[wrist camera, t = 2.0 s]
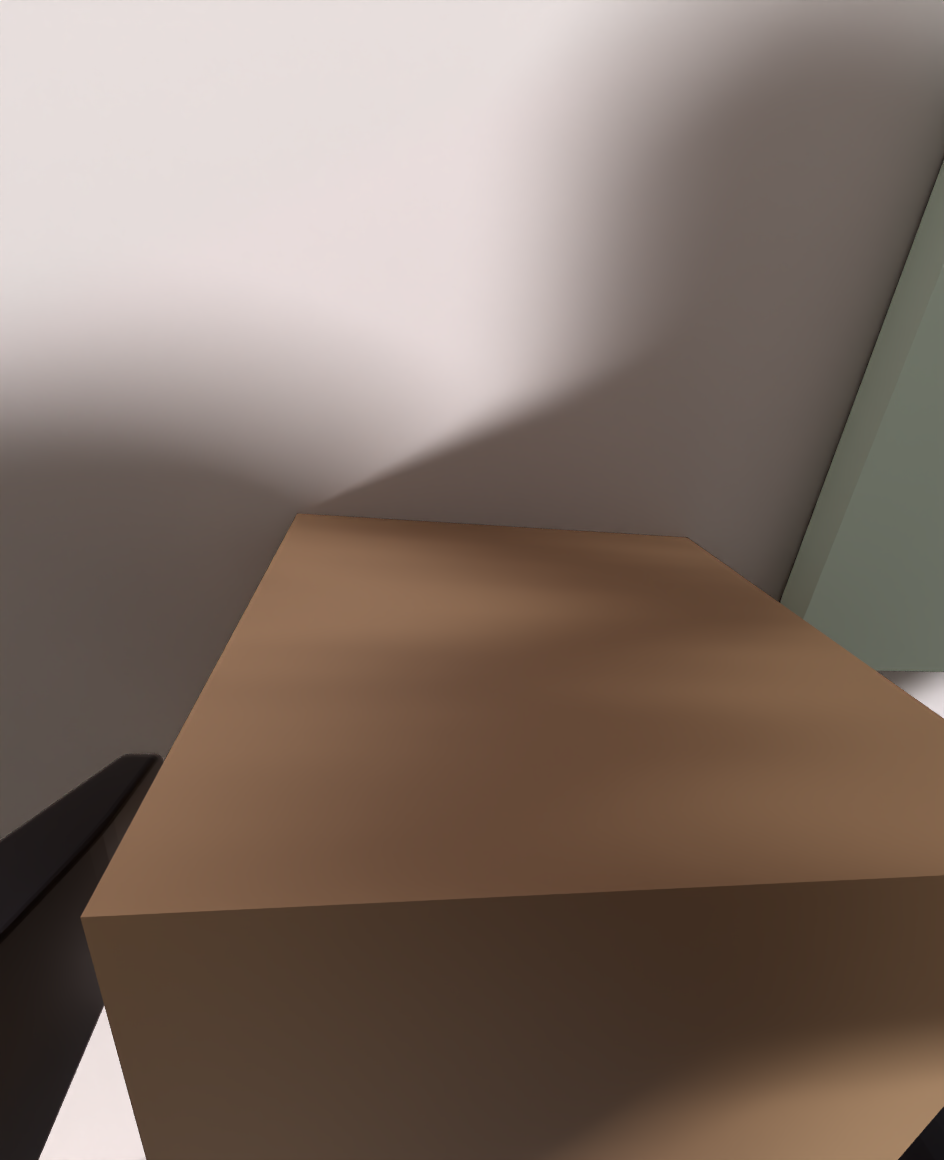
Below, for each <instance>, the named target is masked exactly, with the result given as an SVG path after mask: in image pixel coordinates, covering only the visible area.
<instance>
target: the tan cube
mask: <svg viewBox="0 0 944 1160" xmlns="http://www.w3.org/2000/svg"><path fill="white" fill-rule="evenodd" d="M80 918H81V921H82V925H83V929H84V932H85V936H86V940H87V943H88V947H89V951H90V954H91V958H92V962H93V965H94V969H95V973H96V976H97V980H98V984H99V987H100V991H101V995H102V998H103V1002H104V1006H105V1009H106V1013H107V1017H108V1020H109V1024H110V1028H111V1031H112V1035H113V1039H114V1042H115V1046H116V1050H117V1053H118V1057H119V1061H120V1064H121V1068H122V1072H123V1075H124V1079H125V1083H126V1086H127V1090H128V1094H129V1097H130V1101H131V1105H132V1108H133V1112H134V1116H135V1119H136V1123H137V1127H138V1130H139V1134H140V1138H141V1141H142V1145H143V1149H144V1152H145V1156H146V1160H898V1159H899V1158H900V1157H901V1155H902V1154H903V1153H904V1152H905V1151H906V1150H907V1148H908V1147H909V1146H910V1145H911V1144H912V1143H913V1141H914V1140H915V1139H916V1138H917V1137H918V1136H919V1134H920V1133H921V1132H922V1131H923V1130H924V1129H925V1127H926V1126H927V1125H928V1124H929V1123H930V1122H931V1120H932V1119H933V1118H934V1117H935V1116H936V1115H937V1113H938V1112H939V1111H940V1110H941V1109H942V1108H943V1107H944V719H943V718H942V717H941V716H939V715H938V714H936V713H935V712H934V711H932V710H931V709H929V708H928V707H926V706H925V705H924V704H922V703H921V702H919V701H918V700H917V699H915V698H914V697H912V696H911V695H909V694H908V693H907V692H905V691H904V690H902V689H901V688H900V687H898V686H897V685H895V684H894V683H893V682H891V681H890V680H888V679H887V678H885V677H884V676H883V675H881V674H880V673H878V672H877V671H876V670H874V669H873V668H871V667H870V666H868V665H867V664H866V663H864V662H863V661H861V660H860V659H859V658H857V657H856V656H854V655H853V654H851V653H850V652H849V651H847V650H846V649H844V648H843V647H842V646H840V645H839V644H837V643H836V642H834V641H833V640H832V639H830V638H829V637H827V636H826V635H825V634H823V633H822V632H820V631H819V630H818V629H816V628H815V627H813V626H812V625H810V624H809V623H808V622H806V621H805V620H803V619H802V618H801V617H799V616H798V615H796V614H795V613H793V612H792V611H791V610H789V609H788V608H786V607H785V606H784V605H782V604H781V603H779V602H778V601H776V600H775V599H774V598H772V597H771V596H769V595H768V594H767V593H765V592H764V591H762V590H761V589H759V588H758V587H757V586H755V585H754V584H752V583H751V582H750V581H748V580H747V579H745V578H744V577H743V576H741V575H740V574H738V573H737V572H735V571H734V570H733V569H731V568H730V567H728V566H727V565H726V564H724V563H723V562H721V561H720V560H718V559H717V558H716V557H714V556H713V555H711V554H710V553H709V552H707V551H706V550H704V549H703V548H701V547H700V546H699V545H697V544H696V543H694V542H693V541H692V540H690V539H689V538H687V537H672V536H655V535H639V534H623V533H607V532H591V531H574V530H558V529H542V528H526V527H510V526H493V525H477V524H461V523H445V522H429V521H412V520H396V519H380V518H364V517H348V516H331V515H315V514H299V513H297V515H296V517H295V518H294V520H293V522H292V524H291V526H290V528H289V530H288V531H287V533H286V535H285V537H284V539H283V541H282V543H281V544H280V546H279V548H278V550H277V552H276V554H275V556H274V558H273V559H272V561H271V563H270V565H269V567H268V569H267V571H266V572H265V574H264V576H263V578H262V580H261V582H260V584H259V585H258V587H257V589H256V591H255V593H254V595H253V597H252V599H251V600H250V602H249V604H248V606H247V608H246V610H245V612H244V613H243V615H242V617H241V619H240V621H239V623H238V625H237V626H236V628H235V630H234V632H233V634H232V636H231V638H230V639H229V641H228V643H227V645H226V647H225V649H224V651H223V653H222V654H221V656H220V658H219V660H218V662H217V664H216V666H215V667H214V669H213V671H212V673H211V675H210V677H209V679H208V680H207V682H206V684H205V686H204V688H203V690H202V692H201V694H200V695H199V697H198V699H197V701H196V703H195V705H194V707H193V708H192V710H191V712H190V714H189V716H188V718H187V720H186V721H185V723H184V725H183V727H182V729H181V731H180V733H179V734H178V736H177V738H176V740H175V742H174V744H173V746H172V748H171V749H170V751H169V753H168V755H167V757H166V759H165V761H164V762H163V764H162V766H161V768H160V770H159V772H158V774H157V775H156V777H155V779H154V781H153V783H152V785H151V787H150V788H149V790H148V792H147V794H146V796H145V798H144V800H143V802H142V803H141V805H140V807H139V809H138V811H137V813H136V815H135V816H134V818H133V820H132V822H131V824H130V826H129V828H128V829H127V831H126V833H125V835H124V837H123V839H122V841H121V843H120V844H119V846H118V848H117V850H116V852H115V854H114V856H113V857H112V859H111V861H110V863H109V865H108V867H107V869H106V870H105V872H104V874H103V876H102V878H101V880H100V882H99V883H98V885H97V887H96V889H95V891H94V893H93V895H92V897H91V898H90V900H89V902H88V904H87V906H86V908H85V910H84V911H83V913H82V915H81V917H80Z"/></svg>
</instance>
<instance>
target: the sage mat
mask: <svg viewBox="0 0 944 1160" xmlns="http://www.w3.org/2000/svg"><path fill="white" fill-rule="evenodd" d="M780 603H781V604H782V605H784V606H785V607H786V608H788V609H789V610H791V611H792V612H793V613H795V614H796V615H798V616H799V617H801V618H802V619H803V620H805V621H806V622H808V623H809V624H810V625H812V626H813V627H815V628H816V629H818V630H819V631H820V632H822V633H823V634H825V635H826V636H827V637H829V638H830V639H832V640H833V641H834V642H836V643H837V644H839V645H840V646H842V647H843V648H844V649H846V650H847V651H849V652H850V653H851V654H853V655H854V656H856V657H857V658H859V659H860V660H861V661H863V662H864V663H866V664H867V665H868V666H870V667H871V668H873V669H874V670H876V671H922V672H944V161H943V164H942V166H941V169H940V172H939V174H938V177H937V180H936V182H935V185H934V188H933V191H932V193H931V196H930V199H929V201H928V204H927V207H926V209H925V212H924V215H923V218H922V220H921V223H920V226H919V228H918V231H917V234H916V236H915V239H914V242H913V245H912V247H911V250H910V253H909V255H908V258H907V261H906V263H905V266H904V269H903V272H902V274H901V277H900V280H899V282H898V285H897V288H896V290H895V293H894V296H893V298H892V301H891V304H890V307H889V309H888V312H887V315H886V317H885V320H884V323H883V325H882V328H881V331H880V334H879V336H878V339H877V342H876V344H875V347H874V350H873V352H872V355H871V358H870V361H869V363H868V366H867V369H866V371H865V374H864V377H863V379H862V382H861V385H860V388H859V390H858V393H857V396H856V398H855V401H854V404H853V406H852V409H851V412H850V415H849V417H848V420H847V423H846V425H845V428H844V431H843V433H842V436H841V439H840V442H839V444H838V447H837V450H836V452H835V455H834V458H833V460H832V463H831V466H830V469H829V471H828V474H827V477H826V479H825V482H824V485H823V487H822V490H821V493H820V496H819V498H818V501H817V504H816V506H815V509H814V512H813V514H812V517H811V520H810V522H809V525H808V528H807V531H806V533H805V536H804V539H803V541H802V544H801V547H800V549H799V552H798V555H797V558H796V560H795V563H794V566H793V568H792V571H791V574H790V576H789V579H788V582H787V585H786V587H785V590H784V593H783V595H782V598H781V601H780Z"/></svg>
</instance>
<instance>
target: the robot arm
mask: <svg viewBox="0 0 944 1160" xmlns="http://www.w3.org/2000/svg"><path fill="white" fill-rule="evenodd" d="M163 762H164V760H163V758H162V757H161V756H160V755H158V754H155V753H150V754H126V755H123V756H121V757H120V758H118V759H117V760H115V761H114V762H112V763H111V764H109V765H108V766H107V767H105V768H104V769H102V770H101V771H99V772H98V773H97V774H95V775H94V776H92V777H91V778H89V779H88V780H87V781H85V782H84V783H82V784H81V785H79V786H78V787H77V788H75V789H74V790H72V791H71V792H69V793H68V794H66V795H65V796H64V797H62V798H61V799H59V800H58V801H56V802H55V803H54V804H52V805H51V806H49V807H48V808H46V809H45V810H44V811H42V812H41V813H39V814H38V815H36V816H35V817H33V818H32V819H31V820H29V821H28V822H26V823H25V824H23V825H22V826H21V827H19V828H18V829H16V830H15V831H13V832H12V833H11V834H9V835H8V836H6V837H5V838H3V839H2V840H1V841H0V1160H39V1157H40V1155H41V1153H42V1150H43V1148H44V1146H45V1143H46V1141H47V1139H48V1136H49V1134H50V1132H51V1129H52V1127H53V1125H54V1122H55V1120H56V1117H57V1115H58V1113H59V1110H60V1108H61V1106H62V1103H63V1101H64V1099H65V1096H66V1094H67V1092H68V1089H69V1087H70V1085H71V1082H72V1080H73V1078H74V1075H75V1073H76V1070H77V1068H78V1066H79V1063H80V1061H81V1059H82V1056H83V1054H84V1052H85V1049H86V1047H87V1045H88V1042H89V1040H90V1038H91V1035H92V1033H93V1031H94V1028H95V1026H96V1024H97V1021H98V1019H99V1016H100V1014H101V1012H102V1009H103V1007H104V1002H103V998H102V995H101V991H100V987H99V984H98V980H97V976H96V973H95V969H94V965H93V962H92V958H91V954H90V951H89V947H88V943H87V940H86V936H85V932H84V929H83V925H82V921H81V918H80V917H81V915H82V913H83V911H84V910H85V908H86V906H87V904H88V902H89V900H90V898H91V897H92V895H93V893H94V891H95V889H96V887H97V885H98V883H99V882H100V880H101V878H102V876H103V874H104V872H105V870H106V869H107V867H108V865H109V863H110V861H111V859H112V857H113V856H114V854H115V852H116V850H117V848H118V846H119V844H120V843H121V841H122V839H123V837H124V835H125V833H126V831H127V829H128V828H129V826H130V824H131V822H132V820H133V818H134V816H135V815H136V813H137V811H138V809H139V807H140V805H141V803H142V802H143V800H144V798H145V796H146V794H147V792H148V790H149V788H150V787H151V785H152V783H153V781H154V779H155V777H156V775H157V774H158V772H159V770H160V768H161V766H162V764H163ZM898 1160H944V1107H943V1108H942V1109H941V1110H940V1111H939V1112H938V1113H937V1115H936V1116H935V1117H934V1118H933V1119H932V1120H931V1122H930V1123H929V1124H928V1125H927V1126H926V1127H925V1129H924V1130H923V1131H922V1132H921V1133H920V1134H919V1136H918V1137H917V1138H916V1139H915V1140H914V1141H913V1143H912V1144H911V1145H910V1146H909V1147H908V1148H907V1150H906V1151H905V1152H904V1153H903V1154H902V1155H901V1157H900V1158H899V1159H898Z"/></svg>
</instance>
